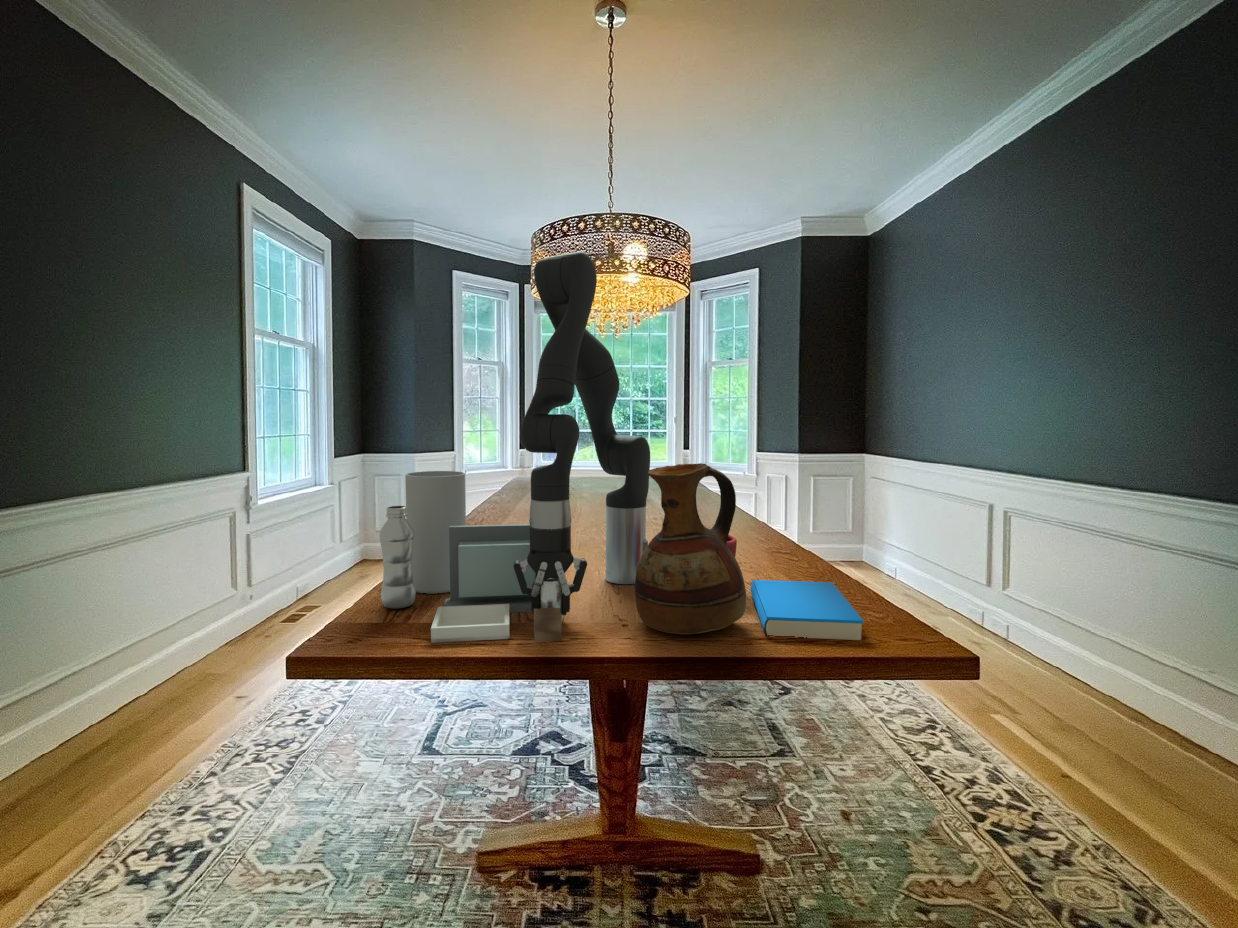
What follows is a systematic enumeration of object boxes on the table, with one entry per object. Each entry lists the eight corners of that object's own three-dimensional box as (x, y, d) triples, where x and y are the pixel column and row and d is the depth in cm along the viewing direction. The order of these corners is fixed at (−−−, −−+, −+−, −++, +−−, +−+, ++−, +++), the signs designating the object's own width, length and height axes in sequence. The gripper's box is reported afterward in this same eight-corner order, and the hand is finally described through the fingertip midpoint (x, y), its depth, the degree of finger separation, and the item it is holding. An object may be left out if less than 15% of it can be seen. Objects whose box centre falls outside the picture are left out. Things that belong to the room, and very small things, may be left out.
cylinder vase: (474, 580, 150) (472, 471, 148) (455, 595, 138) (453, 477, 135) (421, 578, 151) (419, 470, 149) (397, 593, 139) (395, 476, 137)
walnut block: (559, 632, 116) (559, 607, 116) (561, 641, 112) (561, 615, 111) (533, 633, 116) (533, 608, 115) (534, 642, 111) (534, 616, 111)
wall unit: (565, 599, 136) (565, 522, 134) (568, 609, 129) (568, 529, 127) (446, 604, 132) (444, 525, 130) (442, 615, 125) (441, 532, 123)
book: (832, 582, 138) (865, 618, 113) (831, 602, 138) (864, 643, 113) (749, 579, 139) (764, 614, 114) (748, 599, 140) (763, 639, 115)
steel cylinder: (561, 616, 124) (561, 575, 124) (563, 624, 120) (563, 581, 119) (538, 617, 124) (537, 576, 123) (539, 625, 119) (539, 582, 118)
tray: (509, 616, 124) (509, 603, 124) (509, 638, 113) (509, 624, 112) (438, 619, 122) (438, 606, 122) (431, 642, 110) (430, 628, 110)
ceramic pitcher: (617, 616, 125) (619, 459, 122) (709, 604, 133) (712, 457, 130) (665, 652, 107) (667, 469, 104) (767, 635, 115) (772, 465, 112)
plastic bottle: (423, 604, 132) (421, 505, 130) (401, 614, 125) (399, 510, 124) (396, 600, 134) (393, 503, 132) (373, 610, 127) (370, 508, 126)
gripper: (586, 519, 125) (586, 606, 126) (510, 520, 123) (511, 610, 124) (591, 526, 118) (591, 619, 119) (510, 528, 115) (511, 623, 117)
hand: (550, 614), depth 122 cm, fingers closed on steel cylinder, 4 cm apart
